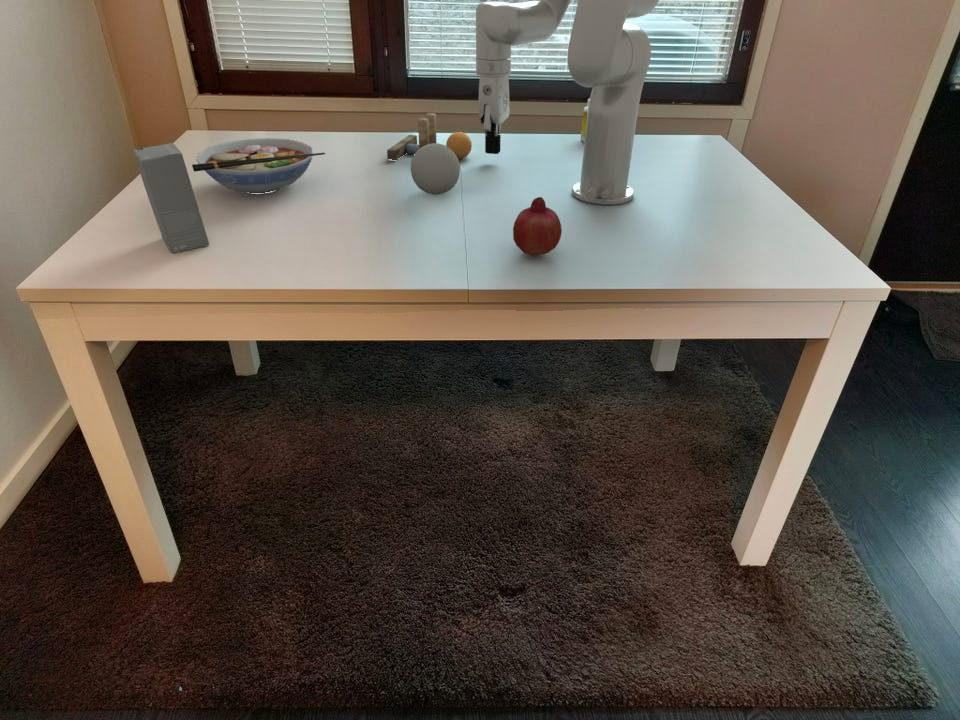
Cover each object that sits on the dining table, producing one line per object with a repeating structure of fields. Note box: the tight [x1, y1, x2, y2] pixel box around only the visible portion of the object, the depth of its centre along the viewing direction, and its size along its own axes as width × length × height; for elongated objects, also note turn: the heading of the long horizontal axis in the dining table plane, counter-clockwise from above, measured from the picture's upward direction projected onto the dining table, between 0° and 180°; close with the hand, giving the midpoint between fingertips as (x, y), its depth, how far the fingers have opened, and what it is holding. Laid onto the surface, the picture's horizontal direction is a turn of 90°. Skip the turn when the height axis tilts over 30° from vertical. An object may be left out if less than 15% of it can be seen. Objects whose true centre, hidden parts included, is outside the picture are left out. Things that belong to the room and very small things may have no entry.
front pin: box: [406, 143, 419, 155], centre depth 154 cm, size 2×2×9 cm
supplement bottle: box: [580, 98, 590, 143], centre depth 165 cm, size 6×6×10 cm
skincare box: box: [132, 142, 210, 254], centre depth 107 cm, size 8×7×16 cm
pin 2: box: [425, 112, 438, 144], centre depth 154 cm, size 2×2×9 cm
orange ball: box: [445, 131, 473, 160], centre depth 152 cm, size 6×6×6 cm
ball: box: [410, 142, 461, 196], centre depth 130 cm, size 10×10×10 cm
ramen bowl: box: [191, 137, 326, 194], centre depth 132 cm, size 25×23×8 cm
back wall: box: [386, 134, 418, 161], centre depth 155 cm, size 14×2×2 cm, turn 164°
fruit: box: [512, 196, 563, 256], centre depth 106 cm, size 8×8×10 cm
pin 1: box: [417, 117, 429, 149], centre depth 150 cm, size 2×2×9 cm
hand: (492, 152), depth 149 cm, fingers closed
